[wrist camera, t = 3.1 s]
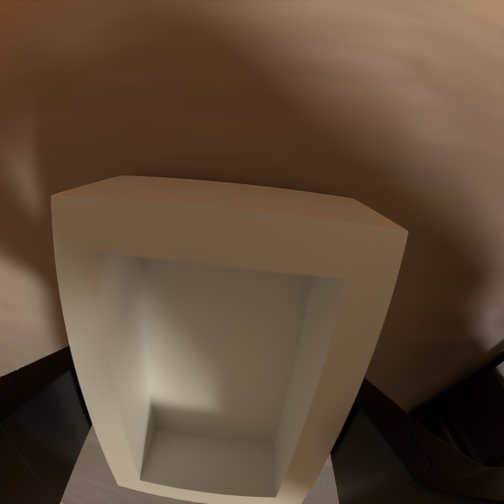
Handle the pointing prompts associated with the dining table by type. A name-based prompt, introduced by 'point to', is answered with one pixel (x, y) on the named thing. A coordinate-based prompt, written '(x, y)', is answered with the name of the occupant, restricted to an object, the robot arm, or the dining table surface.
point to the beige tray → (220, 328)
